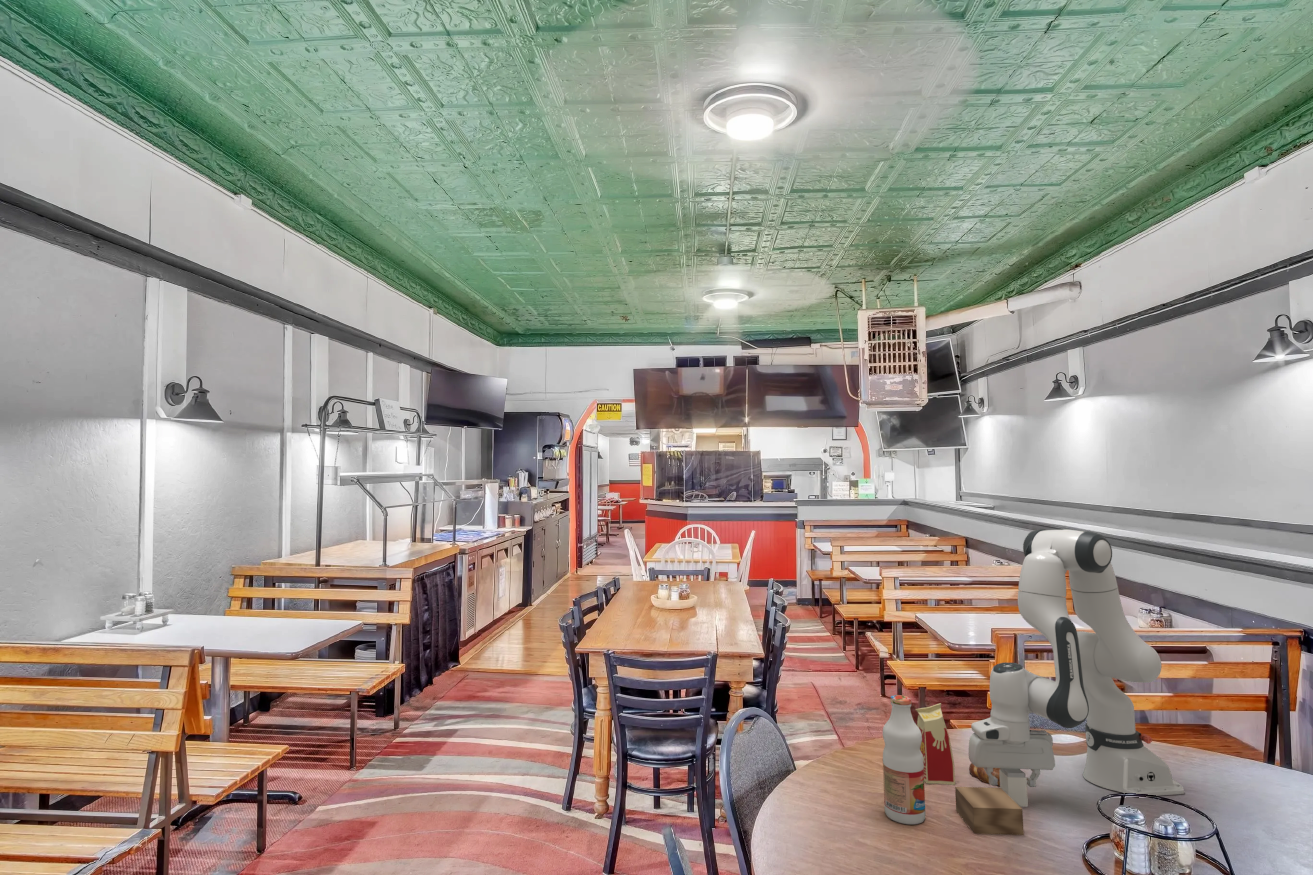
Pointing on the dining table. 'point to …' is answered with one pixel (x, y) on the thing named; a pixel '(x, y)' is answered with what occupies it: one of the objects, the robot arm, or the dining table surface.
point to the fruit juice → (903, 765)
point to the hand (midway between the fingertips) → (1012, 785)
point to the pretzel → (983, 773)
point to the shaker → (1014, 785)
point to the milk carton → (935, 746)
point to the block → (989, 811)
